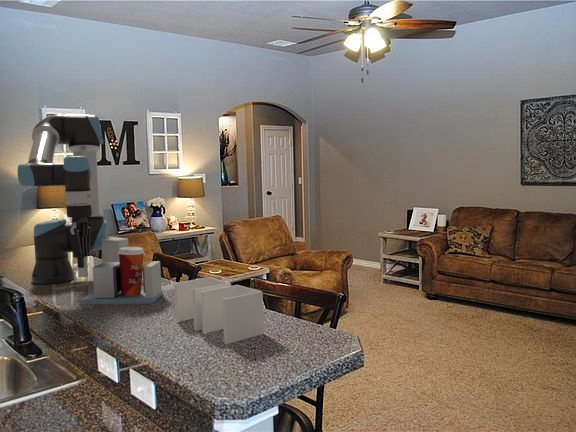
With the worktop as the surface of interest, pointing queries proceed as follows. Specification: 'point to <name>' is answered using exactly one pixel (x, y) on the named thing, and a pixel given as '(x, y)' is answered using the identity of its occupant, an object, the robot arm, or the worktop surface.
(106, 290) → the block
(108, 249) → the skincare box
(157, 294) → the base
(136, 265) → the coffee cup
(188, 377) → the worktop surface
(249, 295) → the grey rectangular blocks
